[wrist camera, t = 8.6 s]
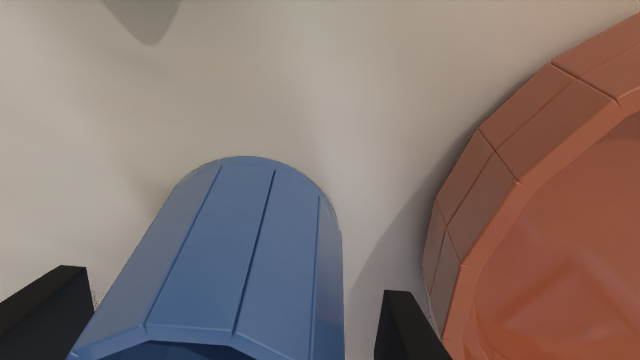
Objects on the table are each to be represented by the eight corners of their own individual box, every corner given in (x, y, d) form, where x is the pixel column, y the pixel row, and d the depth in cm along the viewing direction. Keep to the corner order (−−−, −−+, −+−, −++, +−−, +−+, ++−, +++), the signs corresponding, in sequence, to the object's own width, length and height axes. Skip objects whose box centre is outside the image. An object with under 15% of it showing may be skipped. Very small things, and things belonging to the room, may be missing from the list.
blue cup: (332, 309, 16) (330, 529, 10) (170, 297, 15) (72, 511, 10) (348, 163, 13) (358, 340, 7) (156, 148, 13) (15, 314, 7)
